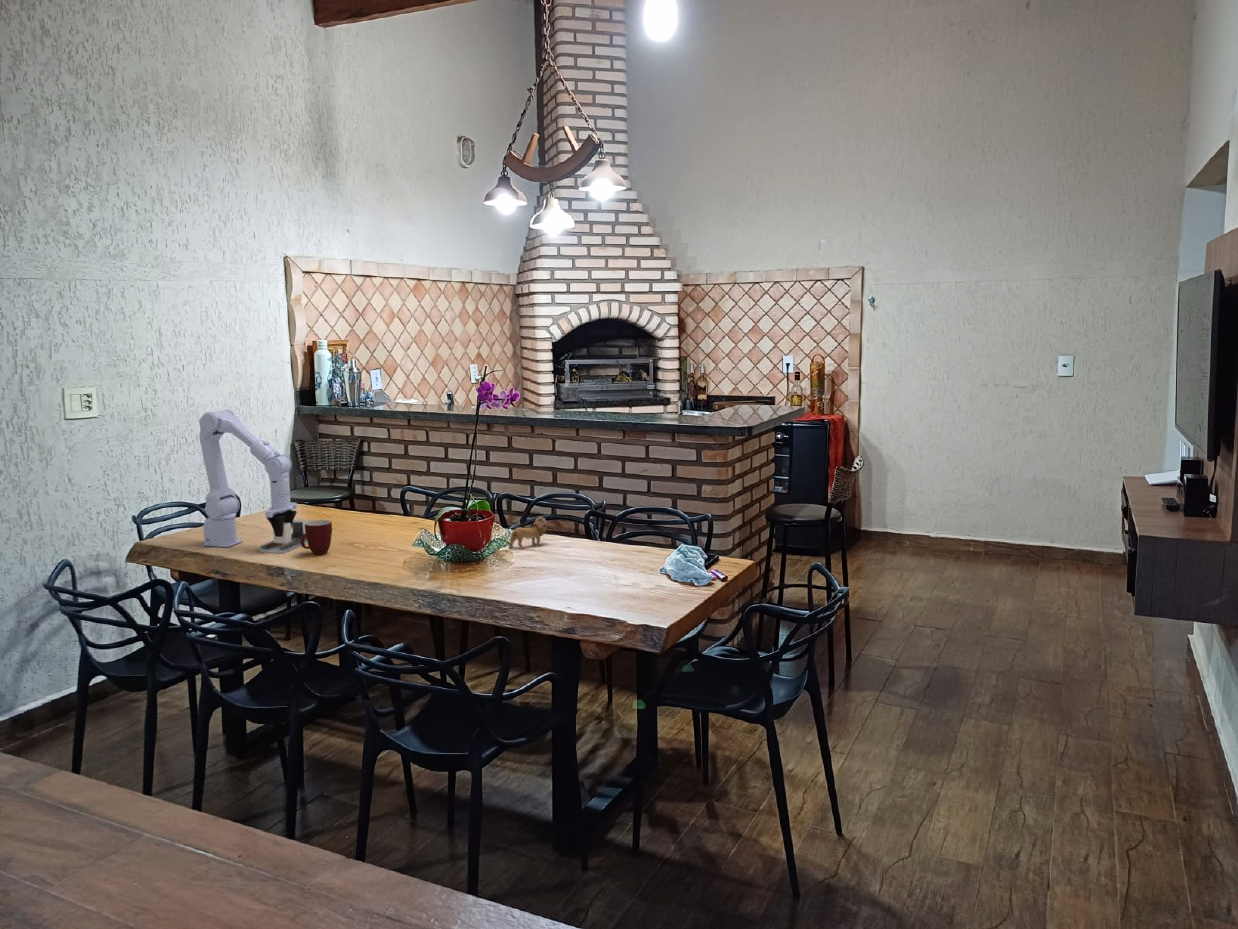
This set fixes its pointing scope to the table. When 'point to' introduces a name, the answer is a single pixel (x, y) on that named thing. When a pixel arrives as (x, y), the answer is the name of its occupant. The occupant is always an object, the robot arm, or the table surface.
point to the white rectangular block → (284, 534)
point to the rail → (296, 536)
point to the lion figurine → (529, 533)
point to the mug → (317, 536)
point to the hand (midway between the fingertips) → (283, 534)
